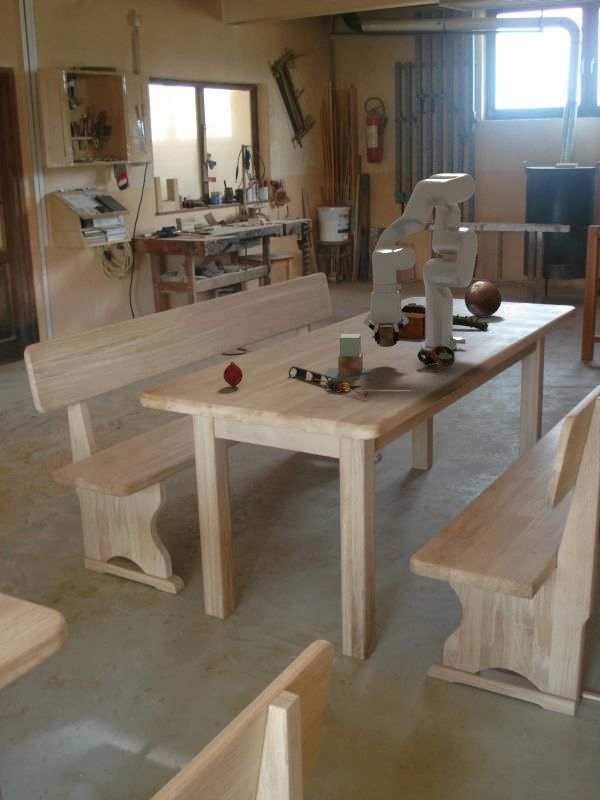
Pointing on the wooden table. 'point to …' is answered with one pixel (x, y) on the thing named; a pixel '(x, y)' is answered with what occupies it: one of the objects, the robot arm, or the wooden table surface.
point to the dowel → (386, 336)
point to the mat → (366, 374)
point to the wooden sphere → (483, 298)
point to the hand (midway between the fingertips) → (386, 342)
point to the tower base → (350, 365)
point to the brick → (412, 326)
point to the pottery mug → (436, 357)
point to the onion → (233, 374)
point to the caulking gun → (328, 381)
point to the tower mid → (350, 345)
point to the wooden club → (456, 319)
